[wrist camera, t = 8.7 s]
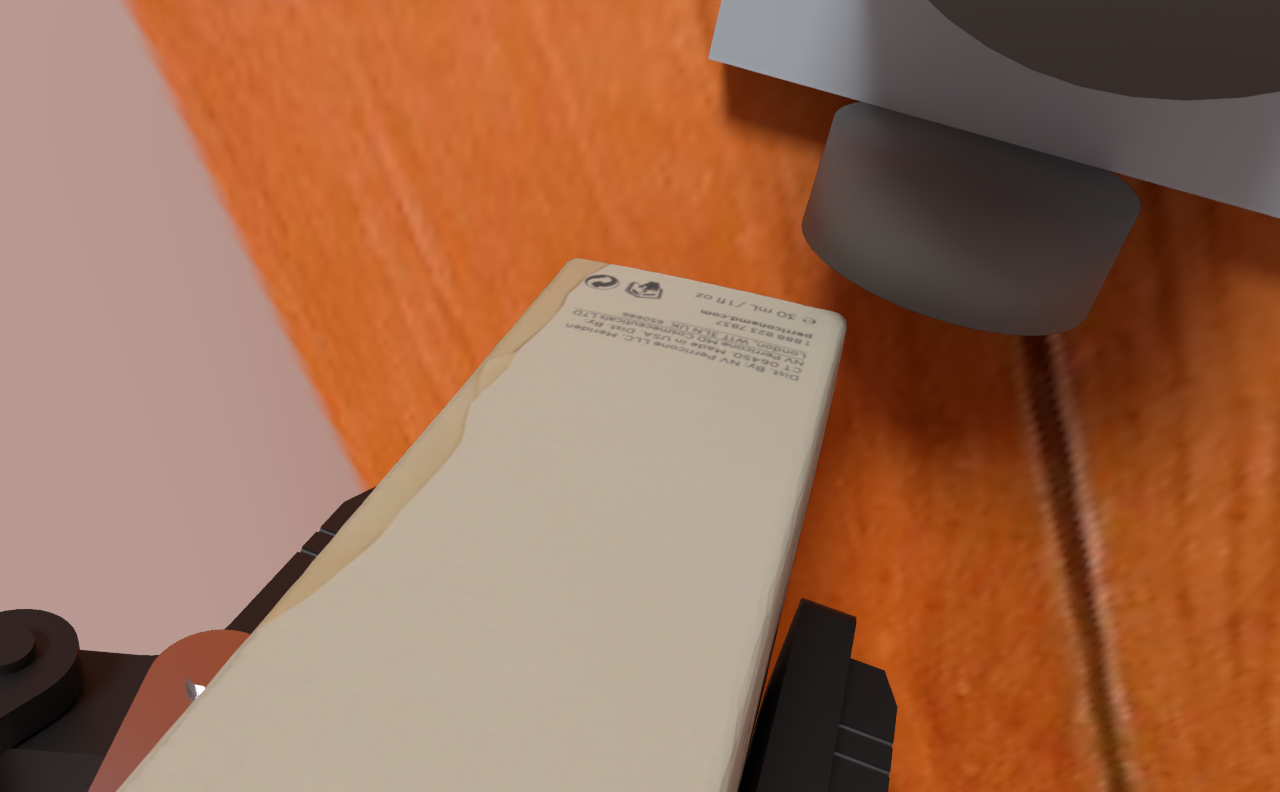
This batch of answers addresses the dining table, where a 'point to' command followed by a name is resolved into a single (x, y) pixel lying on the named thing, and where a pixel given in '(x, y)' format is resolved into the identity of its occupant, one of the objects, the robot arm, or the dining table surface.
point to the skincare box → (548, 566)
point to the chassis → (985, 160)
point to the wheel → (1135, 43)
